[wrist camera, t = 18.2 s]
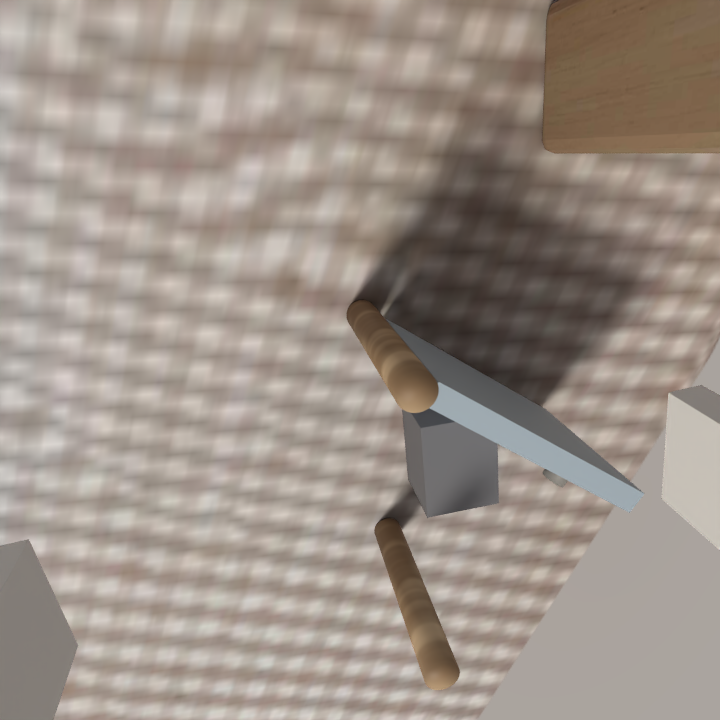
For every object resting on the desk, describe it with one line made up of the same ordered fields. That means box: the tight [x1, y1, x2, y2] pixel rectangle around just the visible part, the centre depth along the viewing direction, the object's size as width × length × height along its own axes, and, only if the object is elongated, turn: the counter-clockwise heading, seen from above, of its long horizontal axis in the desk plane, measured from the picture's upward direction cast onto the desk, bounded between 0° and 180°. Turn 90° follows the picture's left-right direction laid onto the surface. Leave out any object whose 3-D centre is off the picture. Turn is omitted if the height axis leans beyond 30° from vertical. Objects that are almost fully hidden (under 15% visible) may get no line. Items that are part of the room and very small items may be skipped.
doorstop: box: [402, 408, 499, 518], centre depth 48 cm, size 8×6×6 cm
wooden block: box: [542, 0, 720, 153], centre depth 34 cm, size 10×10×20 cm
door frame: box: [347, 300, 460, 690], centre depth 42 cm, size 23×2×16 cm, turn 7°
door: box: [385, 318, 644, 512], centre depth 42 cm, size 17×4×14 cm, turn 58°
